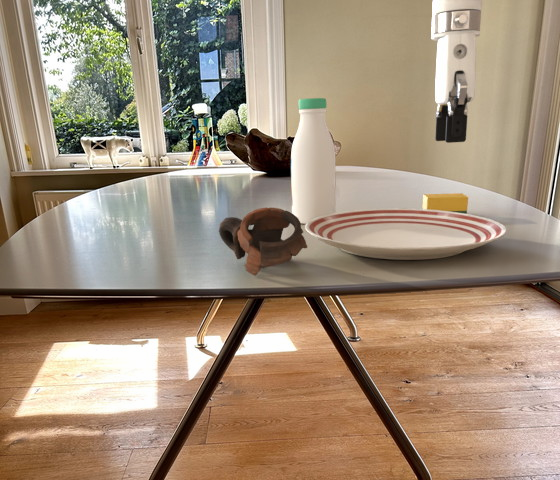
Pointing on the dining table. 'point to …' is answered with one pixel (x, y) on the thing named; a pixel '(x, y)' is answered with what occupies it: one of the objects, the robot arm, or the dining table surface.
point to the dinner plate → (404, 232)
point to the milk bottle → (313, 164)
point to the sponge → (446, 202)
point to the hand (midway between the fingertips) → (449, 141)
